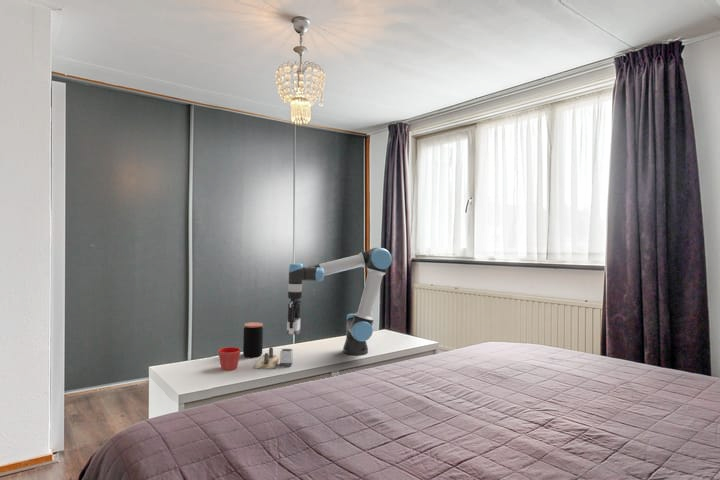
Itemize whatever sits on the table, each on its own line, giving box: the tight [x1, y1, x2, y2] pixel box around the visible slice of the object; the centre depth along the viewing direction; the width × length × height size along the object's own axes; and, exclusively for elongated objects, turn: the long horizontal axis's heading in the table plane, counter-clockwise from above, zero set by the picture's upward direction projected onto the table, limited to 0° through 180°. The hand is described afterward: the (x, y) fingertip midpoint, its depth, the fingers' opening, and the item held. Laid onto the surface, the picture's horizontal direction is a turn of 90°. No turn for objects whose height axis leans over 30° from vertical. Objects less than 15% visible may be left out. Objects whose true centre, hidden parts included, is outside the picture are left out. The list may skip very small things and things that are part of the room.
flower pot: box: [218, 346, 241, 372], centre depth 218 cm, size 11×11×10 cm
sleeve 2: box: [286, 317, 302, 336], centre depth 236 cm, size 6×6×8 cm
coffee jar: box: [242, 321, 264, 359], centre depth 243 cm, size 11×11×18 cm
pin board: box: [254, 347, 280, 370], centre depth 230 cm, size 10×20×7 cm, turn 1°
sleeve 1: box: [279, 348, 294, 367], centre depth 227 cm, size 6×6×8 cm
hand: (293, 332), depth 236 cm, fingers closed on sleeve 2, 6 cm apart
